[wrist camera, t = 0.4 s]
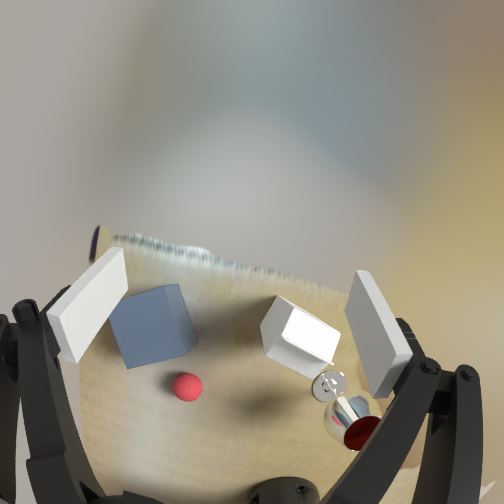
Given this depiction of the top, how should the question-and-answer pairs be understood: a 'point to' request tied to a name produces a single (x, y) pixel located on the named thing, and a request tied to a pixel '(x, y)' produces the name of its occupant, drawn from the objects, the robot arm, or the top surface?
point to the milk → (297, 338)
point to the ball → (187, 387)
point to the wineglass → (346, 410)
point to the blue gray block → (152, 326)
